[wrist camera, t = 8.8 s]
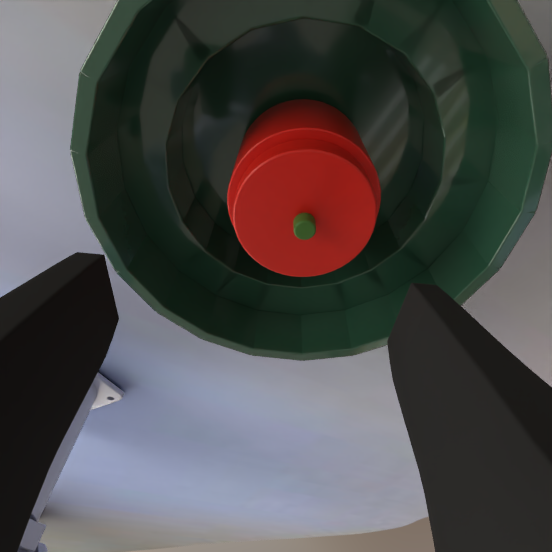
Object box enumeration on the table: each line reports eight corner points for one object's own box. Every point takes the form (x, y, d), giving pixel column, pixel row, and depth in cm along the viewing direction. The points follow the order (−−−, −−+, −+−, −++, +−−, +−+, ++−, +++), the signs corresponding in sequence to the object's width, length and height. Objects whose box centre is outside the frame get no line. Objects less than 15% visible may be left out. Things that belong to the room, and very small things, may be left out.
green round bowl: (246, 315, 23) (236, 392, 18) (57, 81, 15) (-39, 121, 11) (502, 215, 18) (569, 288, 14) (419, -198, 10) (514, -332, 6)
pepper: (276, 229, 18) (272, 314, 14) (216, 134, 15) (184, 199, 11) (377, 182, 17) (413, 260, 12) (331, 66, 14) (353, 107, 9)
